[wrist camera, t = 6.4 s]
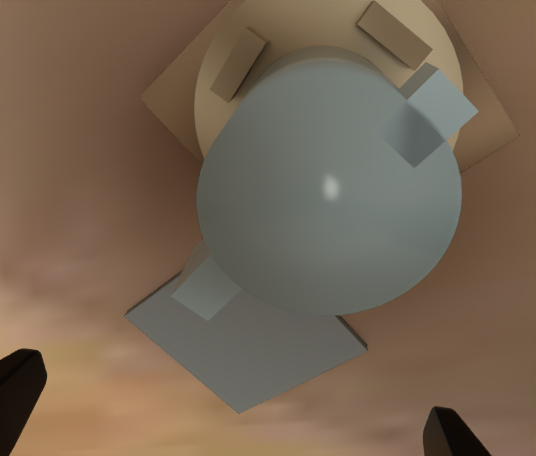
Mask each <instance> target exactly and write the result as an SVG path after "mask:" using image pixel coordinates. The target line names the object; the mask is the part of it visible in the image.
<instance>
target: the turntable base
mask: <svg viewBox="0 0 536 456" xmlns="http://www.w3.org/2000/svg"><path fill="white" fill-rule="evenodd" d="M244 1H245V0H230V1H229V2H228V4H227V5H226V6H225V7H224V8H223V9H222V10H221V11H220V12H219V13H218V14H217V15H216V16H215V17H214V18H213V19H212V20H211V21H210V22H209V24H208V25H207V26H206V27H205V28H204V29H203V30H202V31H201V32H200V33H199V34H198V35H197V36H196V37H195V38H194V39H193V40H192V41H191V42H190V44H189V45H188V46H187V47H186V48H185V49H184V50H183V51H182V52H181V53H180V54H179V55H178V56H177V57H176V58H175V59H174V60H173V61H172V63H171V64H170V65H169V66H168V67H167V68H166V69H165V70H164V71H163V72H162V73H161V74H160V75H159V76H158V77H157V78H156V79H155V80H154V81H153V83H152V84H151V85H150V86H149V87H148V88H147V89H146V90H145V91H144V92H143V93H142V94H141V95H140V96H139V99H140V100H141V101H142V102H143V103H144V104H145V105H146V106H147V107H148V108H149V109H150V110H151V111H152V112H153V114H154V115H155V116H156V117H157V118H158V119H159V120H160V121H161V122H162V123H163V124H164V125H165V126H166V127H167V129H168V130H169V131H170V132H171V133H172V134H173V135H174V136H175V137H176V138H177V139H178V140H179V141H180V142H181V144H182V145H183V146H184V147H185V148H186V149H187V150H188V151H189V152H190V153H191V154H192V155H193V156H194V158H195V159H196V160H197V161H198V162H199V163H200V164H201V165H203V162H204V157H203V154H202V151H201V148H200V145H199V142H198V137H197V132H196V127H195V114H194V104H195V90H196V85H197V79H198V74H199V71H200V68H201V65H202V62H203V59H204V56H205V54H206V52H207V50H208V48H209V46H210V44H211V41H212V40H213V38H214V37H215V35H216V34H217V32H218V30H219V29H220V27H221V26H222V24H223V23H224V22H225V21H226V20H227V19H228V17H229V16H230V15H231V14H232V13H233V11H234V10H235V9H236V8H238V7H239V6H240V5H241V4H242V3H243V2H244ZM421 1H422V2H423V3H424V4H425V5H426V6H427V7H428V8H429V9H430V10H431V11H432V12H433V14H434V15H435V16H436V18H437V19H438V21H439V22H440V23H441V25H442V26H443V27H444V29H445V31H446V33H447V35H448V37H449V39H450V41H451V42H452V44H453V47H454V50H455V52H456V55H457V58H458V61H459V64H460V70H461V76H462V81H463V95H464V96H465V97H466V98H467V99H468V100H469V101H470V102H471V103H472V105H473V106H474V107H475V108H476V109H477V110H478V111H479V112H478V113H477V114H475V115H474V116H473V117H472V118H471V119H470V120H469V121H468V122H466V123H465V124H464V125H463V126H462V127H461V128H460V130H459V134H458V138H457V141H456V143H455V146H454V149H453V154H454V156H455V159H456V161H457V164H458V169H459V173H462V172H463V171H465V170H466V169H468V168H470V167H471V166H473V165H474V164H476V163H478V162H479V161H481V160H482V159H484V158H486V157H487V156H489V155H490V154H492V153H494V152H495V151H497V150H498V149H500V148H502V147H503V146H505V145H506V144H508V143H510V142H511V141H513V140H514V139H516V138H518V137H519V136H520V134H519V132H518V131H517V129H516V128H515V126H514V124H513V123H512V121H511V119H510V118H509V116H508V114H507V113H506V111H505V110H504V108H503V106H502V105H501V103H500V101H499V100H498V98H497V96H496V95H495V93H494V92H493V90H492V88H491V87H490V85H489V83H488V82H487V80H486V78H485V77H484V75H483V74H482V72H481V70H480V69H479V67H478V65H477V64H476V62H475V61H474V59H473V57H472V56H471V54H470V52H469V51H468V49H467V47H466V46H465V44H464V43H463V41H462V39H461V38H460V36H459V34H458V33H457V31H456V29H455V28H454V26H453V25H452V23H451V21H450V20H449V18H448V16H447V15H446V13H445V11H444V10H443V8H442V7H441V5H440V3H439V2H438V0H421Z"/></svg>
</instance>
